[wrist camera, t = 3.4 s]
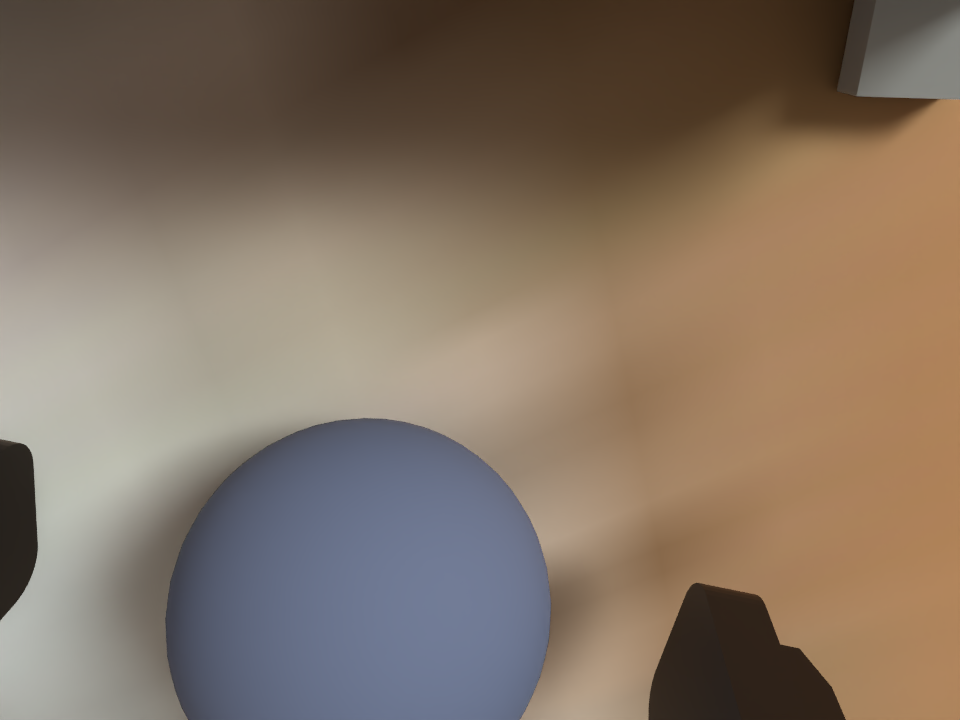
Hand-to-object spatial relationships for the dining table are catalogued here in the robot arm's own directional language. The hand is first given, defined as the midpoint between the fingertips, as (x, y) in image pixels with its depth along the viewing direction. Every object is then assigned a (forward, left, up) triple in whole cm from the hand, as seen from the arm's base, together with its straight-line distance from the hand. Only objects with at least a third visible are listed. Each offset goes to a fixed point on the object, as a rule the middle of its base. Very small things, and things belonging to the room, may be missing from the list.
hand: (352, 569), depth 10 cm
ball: (0, 0, -2) cm, 2 cm away
